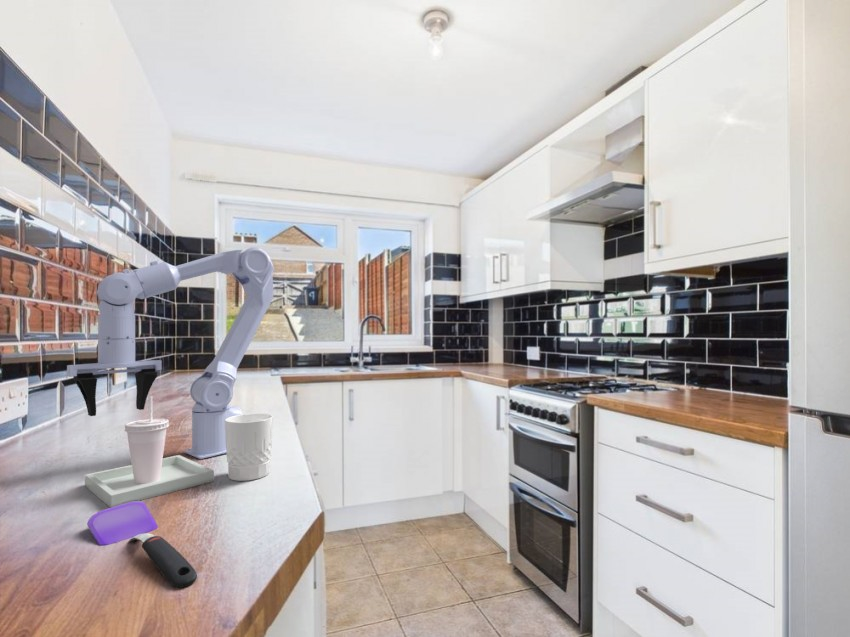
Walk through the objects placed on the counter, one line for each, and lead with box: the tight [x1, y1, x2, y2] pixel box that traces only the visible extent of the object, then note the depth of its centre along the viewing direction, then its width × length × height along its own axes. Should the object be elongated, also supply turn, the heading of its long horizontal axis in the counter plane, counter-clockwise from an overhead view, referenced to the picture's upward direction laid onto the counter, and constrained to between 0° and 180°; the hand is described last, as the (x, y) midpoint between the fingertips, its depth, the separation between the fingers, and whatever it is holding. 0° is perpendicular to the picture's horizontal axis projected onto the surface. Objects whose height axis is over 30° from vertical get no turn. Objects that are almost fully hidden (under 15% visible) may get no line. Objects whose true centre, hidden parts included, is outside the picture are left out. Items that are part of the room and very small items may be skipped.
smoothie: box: [124, 395, 170, 484], centre depth 75 cm, size 6×6×14 cm
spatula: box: [87, 500, 198, 588], centre depth 52 cm, size 24×7×2 cm, turn 49°
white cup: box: [225, 413, 274, 482], centre depth 79 cm, size 8×8×10 cm
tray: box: [84, 454, 215, 508], centre depth 75 cm, size 15×15×2 cm
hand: (117, 412), depth 83 cm, fingers open, 7 cm apart
